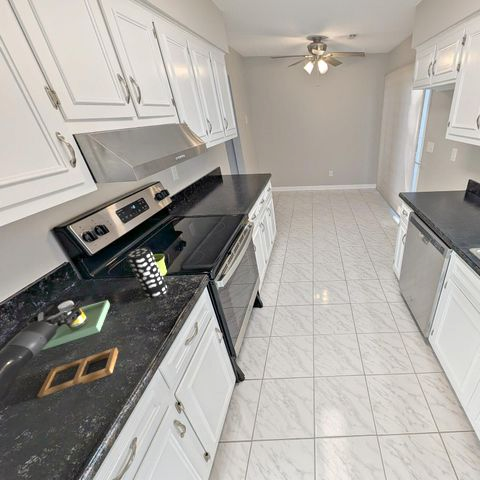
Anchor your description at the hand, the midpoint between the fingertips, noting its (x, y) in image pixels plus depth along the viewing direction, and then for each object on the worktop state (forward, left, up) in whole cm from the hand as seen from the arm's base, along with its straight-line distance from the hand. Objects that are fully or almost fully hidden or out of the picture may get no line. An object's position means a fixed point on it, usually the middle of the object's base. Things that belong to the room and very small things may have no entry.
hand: (67, 304), depth 90 cm
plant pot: (+25, +21, -10) cm, 34 cm away
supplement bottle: (0, -1, -9) cm, 9 cm away
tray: (0, -1, -9) cm, 9 cm away
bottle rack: (+8, -27, -9) cm, 29 cm away
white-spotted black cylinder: (+25, +6, -10) cm, 27 cm away
